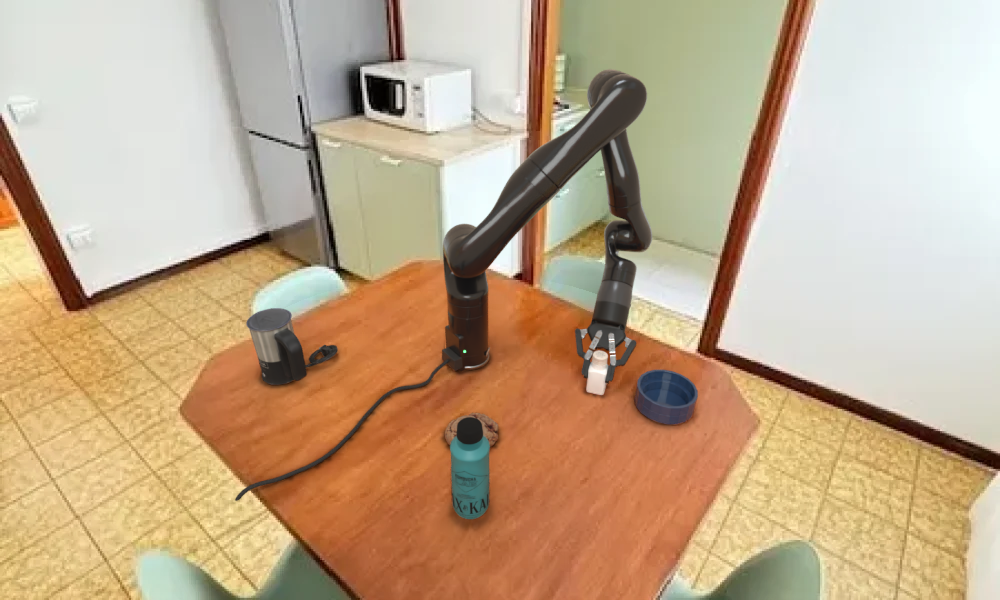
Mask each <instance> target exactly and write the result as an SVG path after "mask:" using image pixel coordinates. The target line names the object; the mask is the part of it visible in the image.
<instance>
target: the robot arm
mask: <svg viewBox="0 0 1000 600" xmlns="http://www.w3.org/2000/svg"><path fill="white" fill-rule="evenodd" d="M586 100H587V105H588V108H589V111H588V112H587V113H586V114H585V115H584V116H583V117H582V118H581V119H580V120H579V121H578V122H577V123H576V124H574V126H573V127H571V128H570V129H568V130H567V131H565V132H564V133H562V134H560V135H558V136H556V137H555V138H552V139H551V140H548V141H547V142H546V143H543V144H542V145H541V146H539V147H538V148H536V149H535V150H534V151H533V152H531V154H530V155H528V157H526V158H525V160H523V161H522V163H521V164H520V165H519V166H518V167H517V168H516V169H514V171H513V173H511V175H510V177H509V178H508V179H507V181H506V183H505V184H504V186H503V188H502V191H501V192H500V193H499V196H498V198H497V200H496V202H495V204H494V206H493V207H492V209H491V211H490V212H489V213H488V214H487V216H486V217H484V219H483V220H482V221H481V222H480V223H479V224H478V225H477V226H475V225H473V224H470V223H460V224H456V225H454V226H452V227H451V228H450V229H449V230H448V231H447V232H446V234H445V235H444V238H443V241H442V260H443V275H444V283H445V289H446V303H447V304H446V306H447V307H446V308H447V325H445V326H444V337H445V348H442V349H441V360H442V361H443V362H441V363H440V364H439V365H438V366H436V367H435V368H434V370H433V371H432V372H431V374H430V376H429V377H428V379H426V380H425V381H423V382H421V383H417V384H410V385H401V386H397V387H395V388H393V389H391V390H389V391H387V392H385V393H384V394H383V395H382V396H381V397H380V398H378V399H377V400H376V402H375V403H374V404H373V405H372V406H371V407H369V409H368V410H367V411H366V412H365V413H364V414H363V416H361V418H360V419H359V421H358V422H357V423H356V425H355V426H354V427H353V428H352V429H351V430H350V431H349V433H348V434H346V435H345V436H344V437H343V439H341V441H339V442H338V443H337V444H336V446H334V447H333V448H332V449H331V450H330V451H328V452H327V453H325V454H323V455H322V456H320V457H319V458H318V459H316V460H315V461H312V462H310V463H308V464H306V465H304V466H302V467H299V468H297V469H294V470H291V471H289V472H287V473H285V474H282V475H280V476H276V477H273V478H269V479H266V480H261V481H257V482H255V483H252V484H250V485H247V486H246V487H245V488H244V489H242V490H241V491H240V492H239V493H238V494H237V495H236V497H235V498H234V501H236V502H238V501H240V500H241V499H242V498H243V497H244V495H245V494H247V493H248V492H250V491H252V490H253V489H255V488H256V489H257V488H258V487H262V486H267V485H270V484H274V483H277V482H280V481H284V480H286V479H288V478H290V477H293V476H295V475H298V474H301V473H302V472H305V471H307V470H310V469H312V468H313V467H315V466H317V465H319V464H320V463H322V462H324V461H325V460H327V459H329V457H331V456H332V455H334V454H335V453H336V452H337V451H338V450H339V449H340V448H341V447H342V446H344V444H346V442H347V441H348V440H349V439H350V438H352V436H353V435H355V433H356V432H357V430H358V429H359V428H360V427H361V426H362V425H363V423H364V422H365V421H366V420H367V418H368V417H369V415H371V413H372V412H373V411H375V409H377V408H378V406H379V405H380V404H381V403H382V402H383V401H384V400H385V399H386V398H387V397H389V396H391V395H392V394H394V393H396V392H400V391H404V390H413V389H419V388H422V387H425V386H426V385H428V384H430V383H431V381H432V380H433V378H434V376H435V375H436V374H437V373H438V372H439V371H440V370H441V369H442V368H443V367H445V366H446V365H447V366H449V368H450V369H452V370H453V371H454V372H456V371H459V372H464V371H474V370H479V369H481V368H483V367H485V366H486V365H487V364H488V362H489V361H490V349H491V346H490V342H489V341H490V340H489V338H490V337H489V336H490V334H489V333H490V332H489V326H490V324H489V320H490V319H489V283H488V278H487V270H488V269H489V268H490V267H491V266H492V264H493V263H494V262H495V261H496V259H497V258H498V256H499V255H500V254H501V253H502V252H503V251H504V249H506V247H507V245H508V244H509V243H510V242H511V241H512V240H513V239H514V237H516V236H517V234H518V233H519V232H520V231H521V230H523V228H524V227H525V226H526V225H527V224H528V223H529V222H530V221H531V220H532V219H533V218H534V217H535V216H536V215H537V214H538V213H539V212H540V211H541V210H542V209H543V208H544V207H545V206H546V205H547V204H548V203H550V201H551V200H552V199H553V198H554V197H555V196H556V195H558V193H560V191H561V190H562V189H563V188H564V187H565V186H566V185H567V184H568V183H569V182H570V181H571V179H572V178H574V176H575V175H577V174H578V172H580V171H581V170H582V169H583V168H584V167H585V166H586V165H587V164H588V163H589V162H590V161H591V160H592V159H593V158H594V157H595V155H597V154H598V153H599V152H600V153H601V160H602V165H603V171H604V178H605V186H606V187H605V188H606V196H607V204H608V205H607V206H608V210H609V213H610V215H612V216H613V217H616V218H619V219H614V220H611V221H610V222H609V223H608V224H607V225H606V226H605V228H604V232H603V238H604V239H603V241H604V252H605V253H604V254H605V255H604V269H603V274H602V278H601V282H600V285H599V288H598V291H597V295H596V298H595V299H596V300H595V303H594V308H593V313H592V318H591V321H590V324H589V325H588V326H587V328H582V329H580V328H577V327H576V328H575V329H574V337H575V346H576V354H577V356H578V357H579V358H582V359H583V363H582V368H581V375H582V376H583V379H586V380H587V377H588V369H589V366H590V363H591V362H592V357H593V353H594V352H595V351H598V350H605V351H608V352H609V362H610V363H609V364H608V365H609V366H608V370H607V375H606V380H605V383H607V384H606V385H608V384H610V382H613V380H614V377H615V372H616V368H617V367H624V366H625V365H626V364H627V363H628V361H629V359H630V357H631V356H632V354H633V352H634V350H635V349H636V347H637V343H638V342H637V340H635V339H631V338H630V337H628V336H627V334H626V329H627V324H628V318H629V314H630V310H631V307H632V301H633V300H632V298H633V290H634V285H635V281H636V276H637V270H638V269H637V268H638V267H637V265H636V263H635V262H634V261H633V260H631V259H628V258H625V257H621V256H620V255H619V254H620V253H619V252H625V253H638V254H639V253H640V254H641V253H644V252H646V251H648V249H650V247H651V245H652V242H653V231H652V227H651V223H650V221H649V219H648V217H647V215H646V212H645V209H644V207H643V203H642V193H641V181H640V175H639V171H638V167H637V164H636V160H635V157H634V155H633V151H632V148H631V145H630V141H629V136H628V131H627V128H629V127H630V126H631V125H632V124H633V123H634V122H636V121H637V119H638V118H639V117H640V115H641V114H642V113H643V111H644V109H645V106H646V104H647V101H648V91H647V87H646V85H645V84H644V82H642V81H641V80H640V79H639V78H637V77H635V76H633V75H631V74H628V73H626V72H624V71H621V70H618V69H612V68H608V69H603V70H601V71H599V72H598V73H597V74H595V75H594V77H593V78H592V79H591V81H590V82H589V85H588V88H587V93H586ZM586 335H588V337H589V340H590V341H591V343H590V345H589V346H588V349H587V351H586V352H585V351H584V345H583V340H584V339H585V338H586ZM624 342H625V343H624ZM622 343H624V347H625V351H624V352H623V354H622V355H621V357H620V359H617V351H616V349H617V348H618V347H620V345H622Z"/></svg>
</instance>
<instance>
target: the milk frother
mask: <svg viewBox="0 0 1000 600" xmlns="http://www.w3.org/2000/svg"><path fill="white" fill-rule="evenodd" d="M292 316H293V314H292V312H291V311H290V310H288V309H285V308H281V307H272V308H271V307H270V308H267V309H263V310H259V311H257V312H255V313H253V314H252V315H250V317H248V319H247V320H246V322H245V323H246V324H245V325H246V327H247V328H248V330H249V333H250V336H251V340H252V343H253V347H254V351H255V353H256V356H257V360H258V362H259V366H260V371H261V379H262V381H263V382H265V383H266V384H268V385H273V386H280V385H286V384H288V383H292V382H293V381H300V380H303V378H306V377H307V375H308V372H307V369H308V368H311V367H315V366H317V365H320V364H321V363H324V362H326V361H329V360H330V359H332V358H333V357H334V356H336V354H337V353H338V352H339V348H338V346H337V345H336V344H328V345H327V344H323V345H322V346H319V347H318V349H317V350H315V351H314V352H312V353H311V354H310V355H309V358H308V362H309V363H308V364H306V361H305V356H304V350H303V346H302V343H301V342H300V339H299V338H298V336H297V335H296V333H295V329H294V326H293V322H292ZM320 353H321V355H322V356H323V357H320V358H316V357H317V356H318V355H319V354H320ZM315 358H316V359H315Z"/></svg>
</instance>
